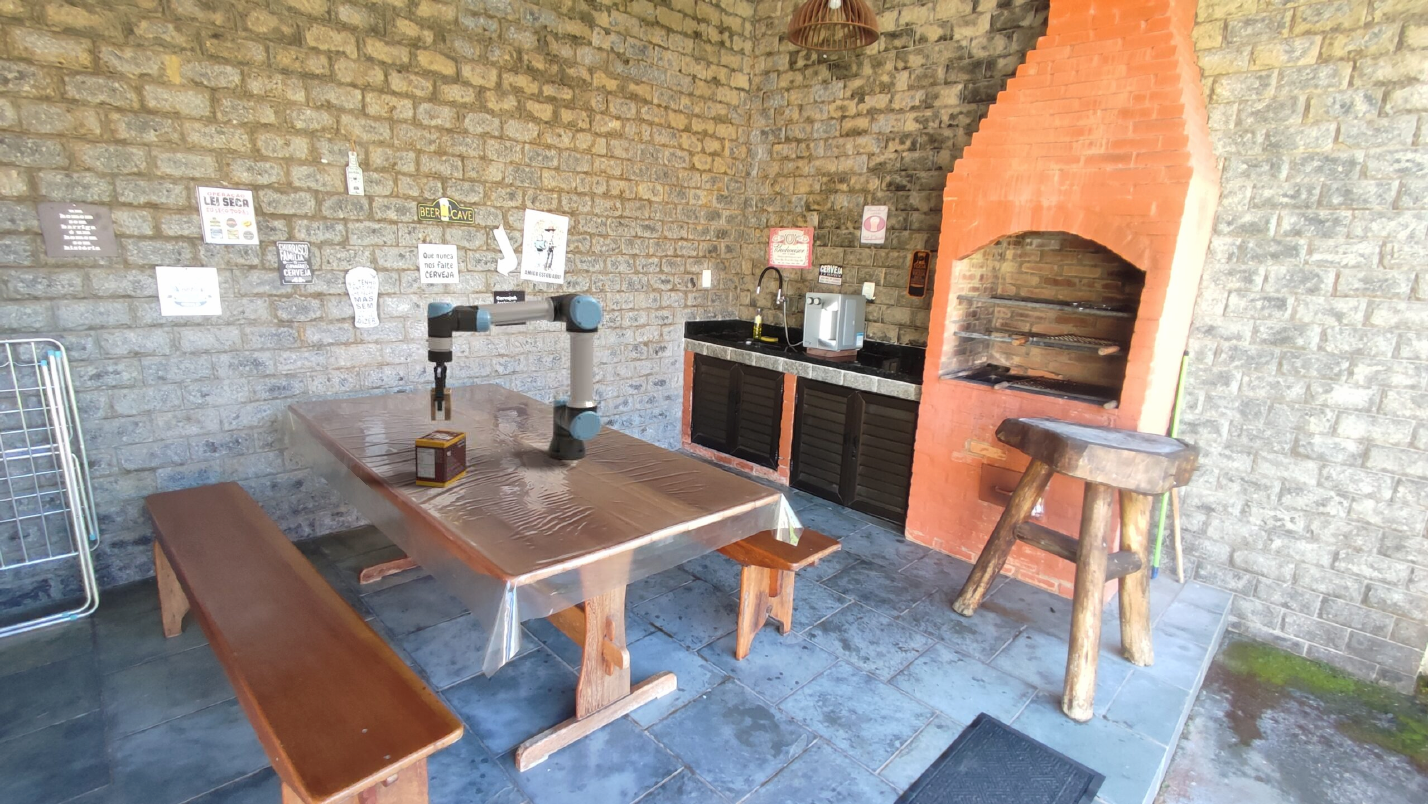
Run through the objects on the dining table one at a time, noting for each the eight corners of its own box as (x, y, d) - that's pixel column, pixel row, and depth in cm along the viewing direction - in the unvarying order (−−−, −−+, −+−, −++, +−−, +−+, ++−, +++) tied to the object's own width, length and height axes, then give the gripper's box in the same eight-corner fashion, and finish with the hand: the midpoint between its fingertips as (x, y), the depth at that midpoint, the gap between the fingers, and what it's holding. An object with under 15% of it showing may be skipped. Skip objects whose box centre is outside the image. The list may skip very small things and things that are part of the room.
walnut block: (451, 416, 225) (451, 387, 223) (450, 420, 219) (450, 391, 217) (432, 416, 223) (431, 387, 221) (430, 420, 217) (430, 391, 215)
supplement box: (466, 474, 232) (466, 431, 229) (445, 488, 217) (444, 442, 214) (438, 471, 233) (438, 428, 230) (415, 485, 218) (414, 439, 215)
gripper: (430, 345, 224) (431, 411, 228) (425, 353, 206) (426, 424, 211) (454, 346, 226) (454, 411, 231) (450, 354, 208) (451, 424, 213)
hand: (440, 417), depth 221 cm, fingers closed on walnut block, 6 cm apart
